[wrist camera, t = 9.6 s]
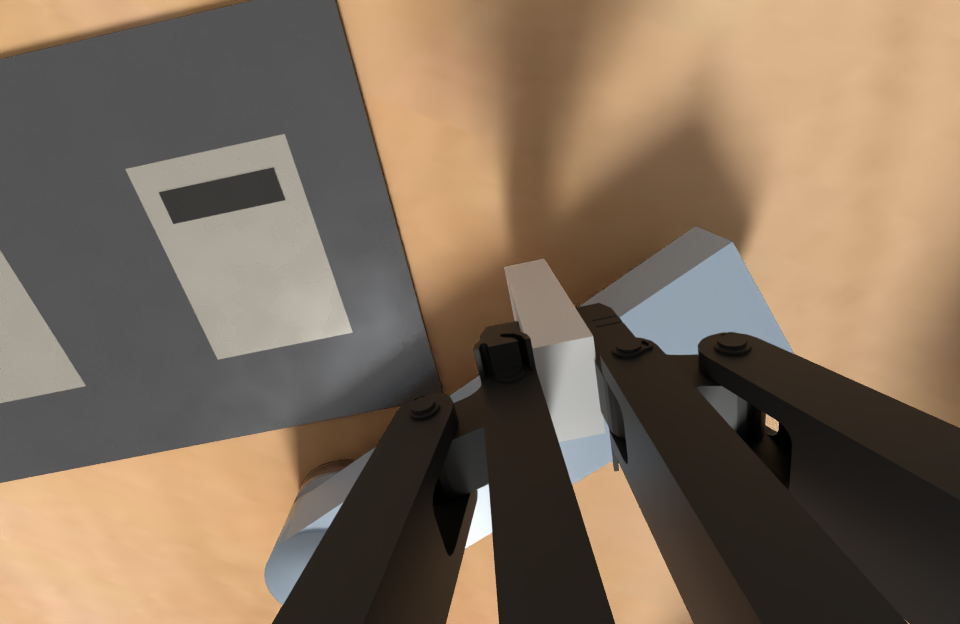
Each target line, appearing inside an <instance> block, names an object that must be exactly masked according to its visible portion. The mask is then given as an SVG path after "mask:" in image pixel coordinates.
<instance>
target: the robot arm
mask: <svg viewBox="0 0 960 624" xmlns="http://www.w3.org/2000/svg"><path fill="white" fill-rule="evenodd" d="M504 269H505V274H506V280H507V285H508V290H509V295H510V300H511V305H512V310H513V315H514V320H515V322H510V323H505V324H500V325H495V326H490V327H486V328H485V330H484V331H483V333H482V334H481V335H480V341H479V342H478V343H477V344H475V347H474V354H475V359H476V363H477V367H478V371H479V375H480V379H481V387H480V388H479V389H478V390H477V391H476V392H474V393H473V394H472V395H470V396H468V397H466V398H464V399H462V400H460V401H457V402H455V403H453V401H452V399H451V398H450V396H448V395H445V394H443V393H428V394H422V395H419V396H416V397H414V398H412V399H410V400H409V401H407V402H406V403H404V404H403V405H402V406H401V407H400V408H399V410H398V411H397V412H396V414H395V416H394V417H393V419H392V421H391V422H390V424H389V426H388V427H387V429H386V431H385V433H384V434H383V436H382V438H381V439H380V441H379V443H378V444H377V446H376V448H375V450H374V451H373V453H372V455H371V456H370V458H369V460H368V461H367V463H366V465H365V466H364V468H363V470H362V472H361V473H360V475H359V477H358V478H357V480H356V482H355V483H354V485H353V487H352V489H351V490H350V492H349V494H348V495H347V497H346V499H345V500H344V502H343V504H342V505H341V507H340V509H339V511H338V512H337V514H336V516H335V517H334V519H333V521H332V522H331V524H330V526H329V528H328V529H327V531H326V533H325V534H324V536H323V538H322V539H321V541H320V543H319V544H318V546H317V548H316V550H315V551H314V553H313V555H312V556H311V558H310V560H309V561H308V563H307V565H306V567H305V568H304V570H303V572H302V573H301V575H300V577H299V578H298V580H297V582H296V583H295V585H294V587H293V589H292V590H291V592H290V594H289V595H288V597H287V599H286V600H285V602H284V604H283V606H282V607H281V609H280V611H279V612H278V614H277V616H276V617H275V619H274V621H273V623H272V624H446V621H447V617H448V613H449V609H450V605H451V601H452V597H453V593H454V589H455V585H456V581H457V578H458V574H459V570H460V566H461V562H462V558H463V554H464V550H465V546H466V542H467V538H468V535H469V531H470V527H471V523H472V519H473V515H474V511H475V507H476V503H477V499H478V490H477V489H479V488H482V487H484V486H486V485H488V484H489V495H490V508H491V521H492V535H493V548H494V561H495V574H496V588H497V601H498V614H499V624H615V622H614V619H613V615H612V612H611V609H610V606H609V602H608V599H607V596H606V593H605V590H604V586H603V583H602V580H601V577H600V573H599V570H598V567H597V564H596V560H595V557H594V554H593V551H592V548H591V544H590V541H589V538H588V535H587V531H586V528H585V525H584V522H583V519H582V515H581V512H580V509H579V506H578V502H577V499H576V496H575V493H574V490H573V486H572V483H571V480H570V477H569V473H568V470H567V467H566V464H565V461H564V457H563V454H562V451H561V448H560V444H559V442H562V441H567V440H572V439H578V438H583V437H588V436H593V435H598V434H604V433H605V427H604V419H605V421H606V423H607V425H608V427H609V433H610V441H611V450H612V458H613V466H614V471H619V466H618V463H619V464H620V466H621V468H622V470H623V473H624V475H625V477H626V479H627V481H628V483H629V485H630V488H631V490H632V492H633V494H634V496H635V498H636V500H637V503H638V505H639V507H640V509H641V511H642V513H643V515H644V518H645V520H646V522H647V524H648V526H649V528H650V530H651V533H652V535H653V537H654V539H655V541H656V543H657V546H658V548H659V550H660V552H661V554H662V556H663V558H664V561H665V563H666V565H667V567H668V569H669V571H670V573H671V576H672V578H673V580H674V582H675V584H676V586H677V588H678V591H679V593H680V595H681V597H682V599H683V601H684V603H685V606H686V608H687V610H688V612H689V614H690V616H691V618H692V621H693V623H694V624H908V623H910V624H960V428H958V427H956V426H954V425H952V424H949V423H947V422H945V421H943V420H940V419H938V418H936V417H934V416H931V415H929V414H927V413H925V412H922V411H920V410H918V409H916V408H914V407H911V406H909V405H907V404H905V403H902V402H900V401H898V400H896V399H893V398H891V397H889V396H887V395H884V394H882V393H880V392H878V391H876V390H873V389H871V388H869V387H867V386H864V385H862V384H860V383H858V382H855V381H853V380H851V379H849V378H847V377H844V376H842V375H840V374H838V373H835V372H833V371H831V370H829V369H826V368H824V367H822V366H820V365H817V364H815V363H813V362H811V361H809V360H806V359H804V358H802V357H800V356H797V355H795V354H793V353H791V352H788V351H786V350H784V349H782V348H779V347H777V346H775V345H773V344H771V343H768V342H766V341H764V340H762V339H759V338H757V337H754V336H750V335H747V334H741V333H736V332H728V333H726V332H723V333H718V334H714V335H710V336H708V337H706V338H704V339H702V340H701V341H700V342H699V344H698V354H695V355H668V354H665V353H664V352H663V350H662V349H661V348H660V347H659V346H658V345H657V344H655V343H654V342H652V341H651V340H647V339H644V338H637V337H635V336H634V335H633V333H632V332H631V331H630V330H629V329H628V327H627V326H626V325H625V324H624V323H623V322H622V320H621V319H620V318H619V317H618V316H617V314H616V313H615V312H614V311H613V309H612V308H611V307H608V306H606V305H603V304H601V303H596V304H591V305H586V306H581V307H576V308H575V306H574V305H573V303H572V302H571V300H570V299H569V297H568V295H567V294H566V292H565V291H564V289H563V287H562V286H561V284H560V283H559V281H558V280H557V278H556V276H555V275H554V273H553V272H552V270H551V268H550V267H549V265H548V264H547V262H546V261H545V259H544V258H543V259H539V260H534V261H529V262H525V263H520V264H515V265H510V266H506V267H504ZM766 414H768V415H769V416H771V417H772V418H774V419H776V420H777V421H778V422H779V430H778V432H776V431H774V430H772V429H770V428H769V427H767V426H766V425H765V418H766ZM603 417H604V419H603ZM903 618H904V619H905V620H906V621H907V622H908V623H907V622H906V621H905V620H904V619H903Z"/></svg>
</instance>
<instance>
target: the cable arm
mask: <svg viewBox="0 0 960 624" xmlns="http://www.w3.org/2000/svg"><path fill="white" fill-rule="evenodd" d="M596 303H601V304H603V305H606V306H608V307H611V308H612V309H613V311H614V312H615V313H616V314H617V316H618V317H619V318H620V319H621V320H622V322H623V323H624V324H625V325H626V326H627V327H628V329H629V330H630V331H631V332H632V333H633V335H634V336H635V337H637V338H644V339H647V340H651V341H652V342H654V343H655V344H657V345H658V346H659V347H660V348H661V349H662V350H663V352H664V353H665V354H668V355H695V354H698V344H699V342H700V341H701V340H702V339H704V338H706V337H708V336H710V335H714V334H718V333H723V332H726V333H728V332H736V333H741V334H747V335H750V336H754V337H757V338H759V339H762V340H764V341H766V342H768V343H771V344H773V345H775V346H777V347H779V348H782V349H784V350H786V351H788V352H791V353H794V352H793V351H792V349H791V347H790V345H789V343H788V341H787V340H786V338H785V336H784V334H783V332H782V331H781V329H780V327H779V325H778V323H777V321H776V320H775V318H774V316H773V314H772V312H771V311H770V309H769V307H768V305H767V303H766V301H765V300H764V298H763V296H762V294H761V292H760V291H759V289H758V287H757V285H756V283H755V281H754V280H753V278H752V276H751V274H750V272H749V271H748V269H747V267H746V265H745V263H744V261H743V260H742V258H741V256H740V254H739V252H738V251H737V249H736V247H735V245H734V243H733V242H732V241H730V240H727V239H725V238H723V237H720V236H718V235H716V234H713V233H711V232H708V231H706V230H704V229H701V228H699V227H697V226H695V227H693V228H692V229H690V230H689V231H688V232H686V233H685V234H683V235H682V236H680V237H679V238H677V239H676V240H675V241H673V242H672V243H670V244H669V245H667V246H666V247H664V248H663V249H662V250H660V251H659V252H657V253H656V254H654V255H653V256H651V257H650V258H648V259H647V260H646V261H644V262H643V263H641V264H640V265H638V266H637V267H635V268H634V269H633V270H631V271H630V272H628V273H627V274H625V275H624V276H622V277H621V278H619V279H618V280H617V281H615V282H614V283H612V284H611V285H609V286H608V287H606V288H605V289H604V290H602V291H601V292H599V293H598V294H596V295H595V296H593V297H592V298H590V299H589V300H588V301H586V302H585V303H583V304H582V305H580V306H579V307H581V306H586V305H591V304H596ZM480 387H481V379H480V375H479V376H477V377H476V378H475V379H473V380H472V381H470V382H469V383H467V384H466V385H464V386H463V387H462V388H460V389H459V390H457V391H456V392H454V393H453V394H451V395H450V398H451V399H452V401H453V403H455V402H457V401H460V400H462V399H464V398H466V397H468V396H470V395H472V394H473V393H474V392H476V391H477V390H478V389H479V388H480ZM603 419H604V417H603ZM604 427H605V433H604V434H598V435H593V436H588V437H583V438H578V439H572V440H567V441H562V442H559V444H560V448H561V451H562V454H563V457H564V461H565V464H566V467H567V470H568V473H569V477H570V480H571V483H572V484H574V483H576V482H577V481H579V480H581V479H582V478H584V477H586V476H588V475H589V474H591V473H593V472H594V471H596V470H598V469H599V468H601V467H603V466H604V465H606V464H608V463H609V462H611V461H613V458H612V450H611V441H610V433H609V427H608V425H607V423H606V421H605V419H604ZM375 448H376V447H375ZM375 448H373V449H372V450H370V451H369V452H367V453H366V454H364V455H363V456H362V457H360V458H359V459H357V460H356V461H354V462H353V463H351V464H350V465H348V466H347V467H346V468H344V469H343V470H341V471H340V472H338V473H337V474H335V475H334V476H333V477H331V478H330V479H328V480H327V481H325V482H324V483H322V484H321V485H319V486H318V487H317V488H314V489H312V490H310V491H308V492H306V493H305V494H303V495H302V496H301V497H299V498H298V500H297V501H296V502H295V503H294V505H293V506H292V508H291V511H290V513H289V515H288V517H287V520H286V522H285V524H284V526H283V529H282V531H281V533H280V535H279V537H278V540H277V542H276V544H275V546H274V549H273V551H272V553H271V555H270V558H269V560H268V562H267V564H266V568H265V582H266V585H267V588H268V589H269V591H270V593H271V594H272V595H273V597H274V598H275V599H276V600H277V601H278V602H279V603H281V604H282V605H283V604H284V602H285V600H286V599H287V597H288V595H289V594H290V592H291V590H292V589H293V587H294V585H295V583H296V582H297V580H298V578H299V577H300V575H301V573H302V572H303V570H304V568H305V567H306V565H307V563H308V561H309V560H310V558H311V556H312V555H313V553H314V551H315V550H316V548H317V546H318V544H319V543H320V541H321V539H322V538H323V536H324V534H325V533H326V531H327V529H328V528H329V526H330V524H331V522H332V521H333V519H334V517H335V516H336V514H337V512H338V511H339V509H340V507H341V505H342V504H343V502H344V500H345V499H346V497H347V495H348V494H349V492H350V490H351V489H352V487H353V485H354V483H355V482H356V480H357V478H358V477H359V475H360V473H361V472H362V470H363V468H364V466H365V465H366V463H367V461H368V460H369V458H370V456H371V455H372V453H373V451H374V450H375ZM477 490H478V499H477V503H476V507H475V511H474V515H473V519H472V523H471V527H470V531H469V535H468V538H467V542H466V546H465V548H467V547H468V546H470V545H472V544H473V543H475V542H477V541H478V540H480V539H482V538H483V537H485V536H487V535H488V534H490V533H492V521H491V508H490V495H489V484H488V485H486V486H484V487H482V488H479V489H477Z"/></svg>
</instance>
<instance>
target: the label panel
mask: <svg viewBox="0 0 960 624" xmlns="http://www.w3.org/2000/svg"><path fill="white" fill-rule="evenodd" d="M428 393H443V392H442V388H441V385H440V381H439V377H438V374H437V370H436V366H435V363H434V359H433V355H432V352H431V348H430V344H429V341H428V337H427V333H426V330H425V326H424V322H423V319H422V315H421V311H420V308H419V304H418V300H417V297H416V293H415V289H414V286H413V282H412V278H411V275H410V271H409V267H408V264H407V260H406V256H405V253H404V249H403V245H402V242H401V238H400V234H399V231H398V227H397V223H396V220H395V216H394V212H393V209H392V205H391V201H390V198H389V194H388V190H387V187H386V183H385V179H384V176H383V172H382V168H381V165H380V161H379V157H378V154H377V150H376V146H375V143H374V139H373V135H372V132H371V128H370V124H369V121H368V117H367V113H366V110H365V106H364V102H363V99H362V95H361V91H360V88H359V84H358V80H357V77H356V73H355V69H354V66H353V62H352V58H351V55H350V51H349V47H348V44H347V40H346V36H345V33H344V29H343V25H342V22H341V18H340V14H339V11H338V7H337V3H336V0H252V1H248V2H244V3H239V4H235V5H231V6H226V7H222V8H218V9H214V10H209V11H205V12H201V13H196V14H192V15H188V16H184V17H179V18H175V19H171V20H166V21H162V22H158V23H153V24H149V25H145V26H141V27H136V28H132V29H128V30H123V31H119V32H115V33H111V34H106V35H102V36H98V37H93V38H89V39H85V40H81V41H76V42H72V43H68V44H63V45H59V46H55V47H50V48H46V49H42V50H38V51H33V52H29V53H25V54H20V55H16V56H12V57H8V58H3V59H0V483H2V482H7V481H12V480H17V479H23V478H28V477H33V476H38V475H43V474H49V473H54V472H59V471H64V470H69V469H74V468H80V467H85V466H90V465H95V464H100V463H106V462H111V461H116V460H121V459H126V458H132V457H137V456H142V455H147V454H152V453H157V452H163V451H168V450H173V449H178V448H183V447H189V446H194V445H199V444H204V443H209V442H214V441H220V440H225V439H230V438H235V437H240V436H246V435H251V434H256V433H261V432H266V431H271V430H277V429H282V428H287V427H292V426H297V425H303V424H308V423H313V422H318V421H323V420H329V419H334V418H339V417H344V416H349V415H354V414H360V413H365V412H370V411H375V410H380V409H386V408H391V407H396V406H401V405H403V404H404V403H406V402H407V401H409V400H410V399H412V398H414V397H416V396H419V395H422V394H428Z"/></svg>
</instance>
